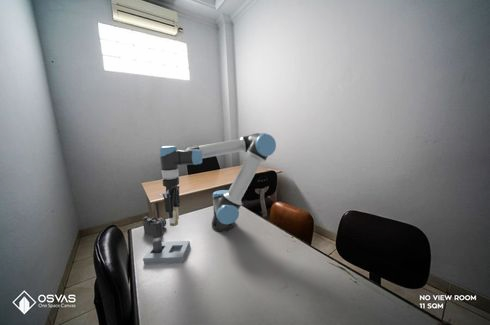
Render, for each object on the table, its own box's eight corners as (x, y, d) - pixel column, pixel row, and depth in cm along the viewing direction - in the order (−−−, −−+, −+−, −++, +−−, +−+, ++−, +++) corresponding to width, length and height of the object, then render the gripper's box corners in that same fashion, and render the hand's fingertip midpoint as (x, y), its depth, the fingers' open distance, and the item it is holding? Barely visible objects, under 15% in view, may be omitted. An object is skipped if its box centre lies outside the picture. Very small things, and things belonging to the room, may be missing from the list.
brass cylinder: (179, 222, 92) (178, 208, 91) (176, 226, 88) (175, 211, 87) (172, 222, 92) (170, 208, 91) (168, 226, 88) (167, 211, 87)
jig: (190, 245, 93) (188, 232, 91) (182, 262, 81) (181, 247, 80) (156, 247, 93) (154, 233, 91) (143, 264, 81) (141, 248, 79)
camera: (173, 229, 109) (171, 214, 107) (157, 239, 100) (155, 223, 98) (157, 224, 115) (155, 210, 114) (142, 233, 106) (139, 218, 104)
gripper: (170, 173, 94) (174, 213, 98) (153, 182, 78) (158, 229, 82) (184, 173, 94) (187, 213, 98) (170, 182, 77) (174, 229, 82)
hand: (174, 220), depth 90 cm, fingers closed on brass cylinder, 4 cm apart
